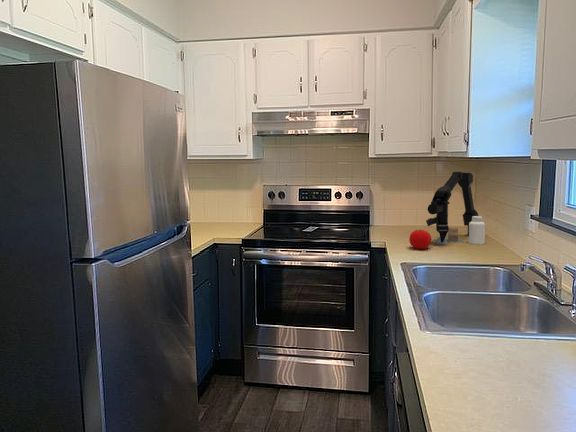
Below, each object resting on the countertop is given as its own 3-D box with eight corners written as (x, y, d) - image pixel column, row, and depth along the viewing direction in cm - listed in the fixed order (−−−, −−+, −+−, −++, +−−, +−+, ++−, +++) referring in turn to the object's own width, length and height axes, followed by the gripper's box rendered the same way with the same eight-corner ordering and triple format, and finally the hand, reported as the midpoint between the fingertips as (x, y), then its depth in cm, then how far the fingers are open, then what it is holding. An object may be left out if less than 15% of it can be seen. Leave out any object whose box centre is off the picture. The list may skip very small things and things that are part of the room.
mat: (440, 239, 270) (440, 238, 270) (462, 240, 266) (462, 239, 266) (440, 242, 259) (440, 241, 259) (463, 243, 256) (463, 242, 256)
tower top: (448, 233, 265) (448, 227, 265) (457, 233, 264) (457, 227, 263) (448, 234, 260) (448, 228, 260) (457, 235, 259) (457, 228, 258)
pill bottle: (483, 242, 256) (484, 215, 254) (485, 245, 249) (486, 217, 247) (468, 242, 258) (468, 215, 257) (469, 245, 251) (470, 217, 249)
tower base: (447, 239, 266) (448, 233, 265) (457, 239, 264) (457, 233, 264) (448, 241, 261) (448, 234, 260) (457, 241, 259) (457, 235, 259)
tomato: (417, 251, 237) (417, 231, 236) (404, 247, 249) (404, 228, 248) (436, 249, 240) (436, 230, 239) (423, 245, 252) (423, 227, 251)
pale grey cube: (437, 243, 259) (437, 237, 259) (446, 243, 258) (446, 237, 257) (436, 244, 255) (437, 238, 254) (446, 245, 253) (446, 238, 253)
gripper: (427, 210, 265) (426, 237, 267) (426, 214, 248) (426, 243, 250) (447, 210, 262) (447, 238, 264) (448, 214, 244) (448, 244, 246)
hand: (441, 240), depth 256 cm, fingers open, 9 cm apart
